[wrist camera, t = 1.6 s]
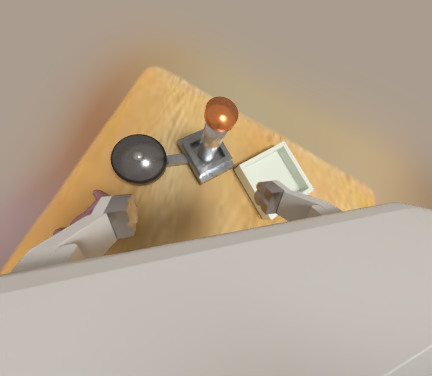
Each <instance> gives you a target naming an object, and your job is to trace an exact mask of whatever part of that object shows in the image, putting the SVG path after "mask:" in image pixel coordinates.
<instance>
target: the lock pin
mask: <svg viewBox="0 0 432 376" xmlns="http://www.w3.org/2000/svg"><path fill="white" fill-rule="evenodd" d="M204 118H205V121H206V123H205V127H204V131H203V136H202V140H201V144H200V148H199V156H200V158H201V159H203V160H205V161H210V160H212V159H213V158H214V156H215V154H216V152H217V150H218V148H219V147H220V145H221V143H222V141H223V139H224V137H225V135H226V133H227V131H229V130H231V129H232V128H233V126H234V125H235V123H236V121H237V119H238V110H237V107H236V106H235V104H234V103H233V102H232V101H231V100H229V99H227V98H225V97H214V98H212V99H211V100H209V102H208V103H207V105H206V109H205V114H204Z"/></svg>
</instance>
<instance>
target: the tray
mask: <svg viewBox="0 0 432 376" xmlns="http://www.w3.org/2000/svg"><path fill="white" fill-rule="evenodd" d="M234 171H235V173H236V175H237V176H238V178H239V180H240V181H241V183H242V185H243V186H244V188H245V190H246V192H247V193H248V195H249V197H250V198H251V200H252V202H253V204H254V205H255V207H256V209H257V210H258V212H259V214H260V216H261V217H262V219H266V220H272V219H273V218H275V217H276V216H277V214H276V213H275V214H267V215H265V213H264V212H263V211H262V210H261V206H259V205H257V204H256V202H255V200H254V194H255V192H256V191H257V188H256V185H257V183H258V182H265V181H272V180H278V181H280V182H281V183H282V184H284V185H285V186H286V187H288V188H289V189H290V190H292V191H297V192H300V193H303V194H306V195H307V194H309V193H310V192H312V191H313V190H314V189H313V187H312V185H311V184H310V182H309V180H308V179H307V177H306V175H305V174H304V172H303V171H302V169H301V167H300V166H299V164H298V162H297V161H296V159H295V157H294V156H293V154H292V153H291V151H290V149H289V148H288V146H287V144H286V143H285V141H283V142H281V143H279V144H278V145H276V146H274V147H272V148H270V149H268V150H266V151H264V152H263V153H261V154H259V155H257V156H255V157H253V158H251V159H249V160H248V161H246V162H244V163H242V164H240V165H239V166H237V167H236V168H235V169H234Z"/></svg>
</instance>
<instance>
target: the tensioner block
mask: <svg viewBox="0 0 432 376" xmlns="http://www.w3.org/2000/svg"><path fill="white" fill-rule="evenodd" d="M203 131H204V129H203V130H201V131H198V132H196V133H194V134H191V135H189V136H186V137H184V138H182V139H179V140H178V146H179V148H180V150H181V151H182V153H183V154H177V155H168V156H167V167H171V166H178V165H186V164H189V165H190V167H191V169H192V171H193V173H194V174H195V176H196V178H197V180H198V181H199V183H200V185H202V184H204V183H205V182H207V181H209V180H211V179H213V178H215V177H217V176H219V175H220V174H222V173H224V172H226V171H228V170H230V169H231V168H232V167H233V166H234V164H233V162H232V161H231V159H232V157H231V155H230V153H229V152H228V150H227V148H226V147H225V145H224V143H223V141H222V143H221V145H220V147H219V148H218V150H217V152H216V154H215V156H214V158H213V159H212V160H210V161H205V160H203V159H201V158H200V156H199V148H200V144H201V140H202V136H203Z"/></svg>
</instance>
